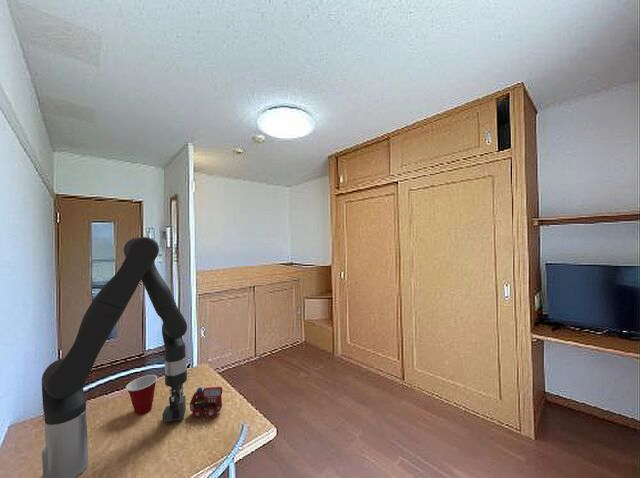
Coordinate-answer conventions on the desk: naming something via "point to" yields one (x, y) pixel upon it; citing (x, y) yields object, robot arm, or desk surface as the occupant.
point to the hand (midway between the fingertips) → (177, 413)
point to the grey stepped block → (168, 414)
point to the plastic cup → (142, 393)
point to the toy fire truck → (206, 402)
